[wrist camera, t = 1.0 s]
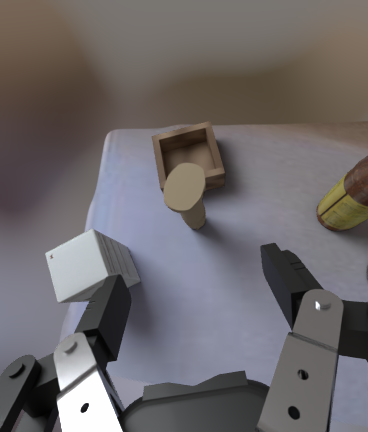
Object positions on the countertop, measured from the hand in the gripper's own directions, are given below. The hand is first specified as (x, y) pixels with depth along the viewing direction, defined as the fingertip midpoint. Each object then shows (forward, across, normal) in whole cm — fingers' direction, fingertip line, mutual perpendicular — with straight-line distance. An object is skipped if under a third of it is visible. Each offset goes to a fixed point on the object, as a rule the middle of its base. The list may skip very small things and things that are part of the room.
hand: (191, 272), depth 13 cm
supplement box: (+23, +16, +15) cm, 32 cm away
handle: (+27, 0, +11) cm, 29 cm away
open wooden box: (+35, -1, +2) cm, 35 cm away
